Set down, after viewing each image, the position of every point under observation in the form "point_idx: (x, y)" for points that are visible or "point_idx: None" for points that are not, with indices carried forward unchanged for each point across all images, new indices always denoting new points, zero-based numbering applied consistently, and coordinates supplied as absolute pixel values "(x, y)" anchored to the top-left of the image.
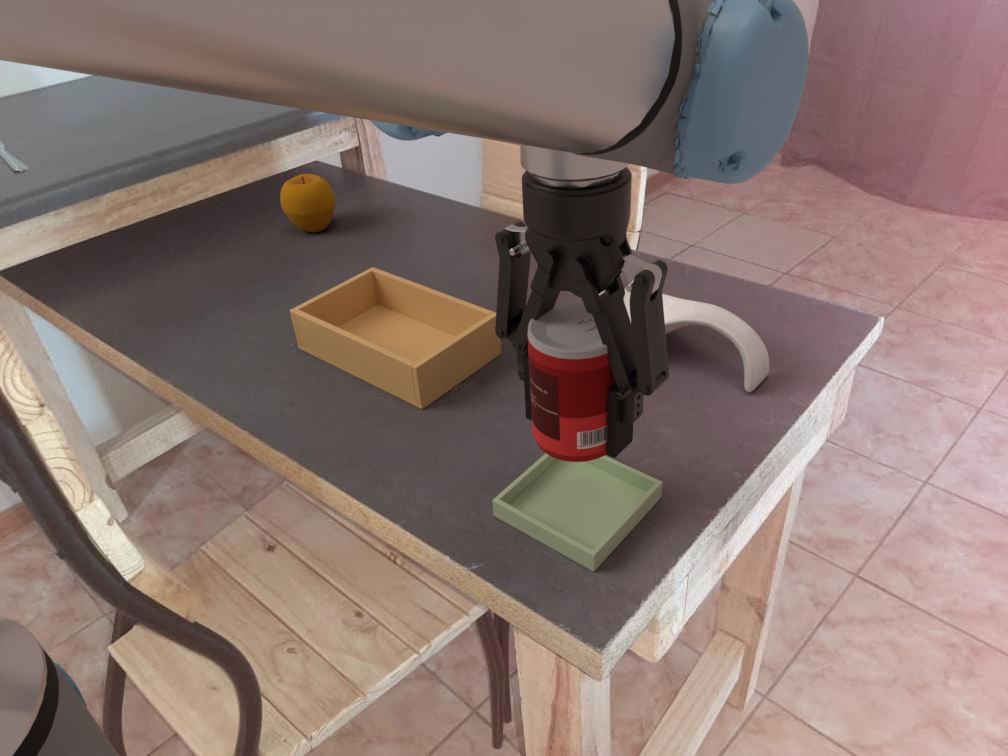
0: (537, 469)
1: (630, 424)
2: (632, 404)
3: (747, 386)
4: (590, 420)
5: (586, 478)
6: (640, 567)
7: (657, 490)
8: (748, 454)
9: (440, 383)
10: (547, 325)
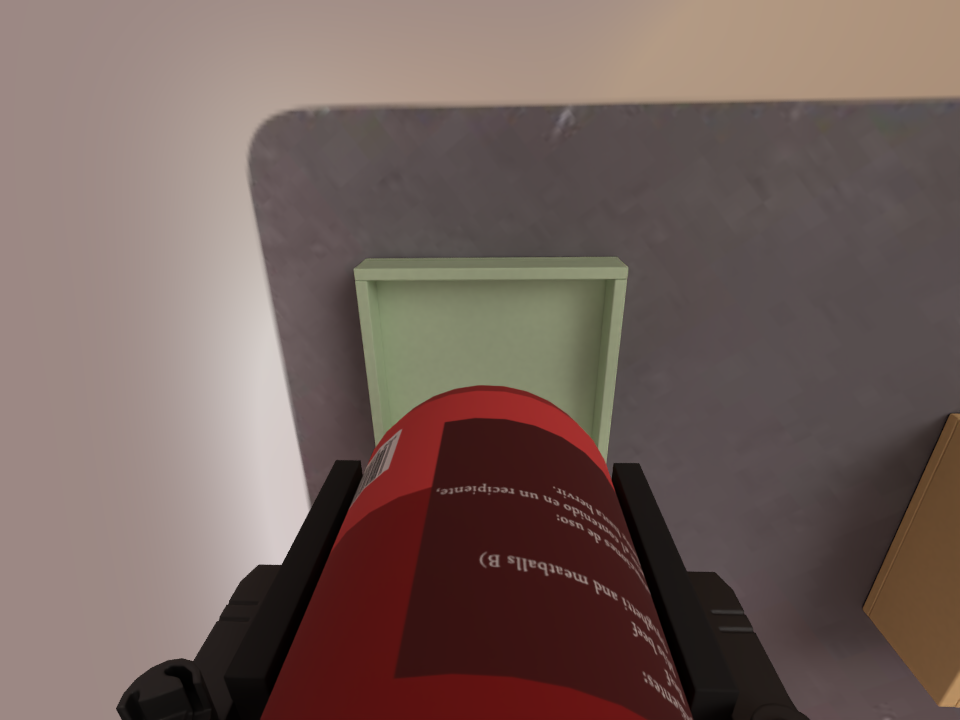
0: (600, 396)
1: (257, 568)
2: (207, 647)
3: None
4: (346, 525)
5: None
6: (313, 317)
7: None
8: None
9: (953, 487)
10: None
